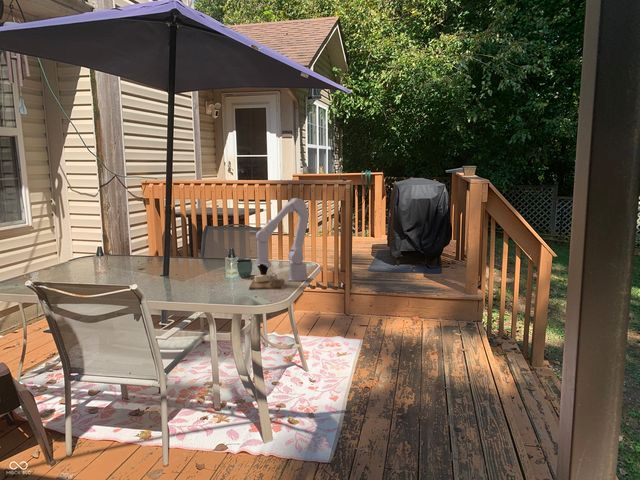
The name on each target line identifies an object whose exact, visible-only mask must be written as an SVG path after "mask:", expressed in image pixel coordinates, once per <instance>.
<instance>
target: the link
mask: <svg viewBox="0 0 640 480" xmlns="http://www.w3.org/2000/svg"><path fill="white" fill-rule="evenodd" d="M268 274H269V273H267V274H266V275H261V274H258V275H254V280H255V282H265V281H269V278H267V275H268ZM271 274H276V276H275V278H273V281H275V280H277V279H278V274H277V273H276V272H271Z"/></svg>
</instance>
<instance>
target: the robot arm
mask: <svg viewBox="0 0 640 480" xmlns="http://www.w3.org/2000/svg"><path fill="white" fill-rule="evenodd" d="M293 212H295V213H296V215H297V216H298V220H297V226H296V229H295V230H296V231H295V235H294V240H293V245H292V246H291V247H290V248H291V249H290V251H289V252H288V253H287V254H288V255H287V257H288V259H289V260H290V261H289V269H288V270H289V278H288V281H289V282H295V281H296V282H297V281H298V282H299V281H302V282H303V281H307V277H308V273H307V263H305V262H303V261H304V255H303V253H304V250H303V245H304V241H305V238H306V237H305V235H306V231H307V226H308V221H309V218H310V217H309V216H310V213H309V211H308V208H307V204H306V202H304V200H303V199H301V198H297V197H293V198H290V200H289V201H287V203H286V204H285V205H284V206H283V207H282V209H280V211H279V212H278V213H277V214H276V216H275V217H274V218H273V219H269V220H267V221H265V222H266V223H265V224H264V226H263V227H261V228H260V230H259V231H257V232H256V234H255V239H256V240H257V241H256V249H257V250H256V251H257V254H256V255H257V259H255V264H257V269H258V270H259V273H260V275H266V274H268V271H269V268H271V267H272V263H271V262H270V261H269V244H268V241H269V238H270V236H272V234H273V233H275V231H276V229H278V228H279V223H280V222H281V221H282V220H283V219H284V218H285V217H286V216H287V215H288V214H289V213H293ZM258 264H259V265H258Z"/></svg>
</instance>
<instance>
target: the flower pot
mask: <svg viewBox="0 0 640 480" xmlns="http://www.w3.org/2000/svg"><path fill="white" fill-rule="evenodd" d="M236 260H237V261H236ZM236 260H235V261H236V263H235V264H236V269H237V273H238V275H239V276H240V277H241V278H248V277H251V275H252V271H253V260H252V258H246V259H236ZM237 262H238V263H237Z"/></svg>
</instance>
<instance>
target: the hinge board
mask: <svg viewBox="0 0 640 480" xmlns="http://www.w3.org/2000/svg"><path fill="white" fill-rule="evenodd" d="M267 274H268V275H267V278H269V281H265V282H255V279H253V280H252V282H251V283H250V285H249V287H248V290H280V289H282V285H283V282H284V278H277V280H275V281H273V278H275V276H276V274H277V273H275V274H272V273H267Z"/></svg>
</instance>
